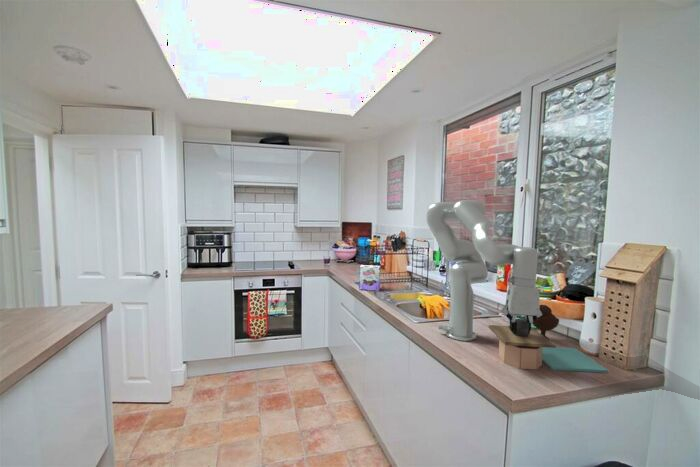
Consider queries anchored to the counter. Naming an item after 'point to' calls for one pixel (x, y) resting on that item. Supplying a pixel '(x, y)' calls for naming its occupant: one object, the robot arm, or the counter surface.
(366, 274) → the candy box
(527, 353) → the terracotta bowl
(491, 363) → the counter surface
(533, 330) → the walnut lid
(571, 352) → the teal mat
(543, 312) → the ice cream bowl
